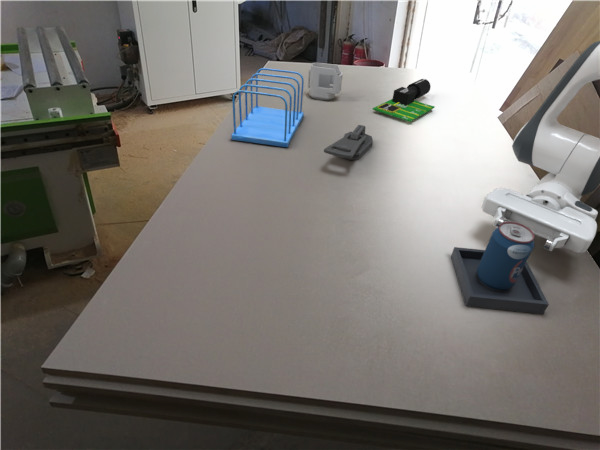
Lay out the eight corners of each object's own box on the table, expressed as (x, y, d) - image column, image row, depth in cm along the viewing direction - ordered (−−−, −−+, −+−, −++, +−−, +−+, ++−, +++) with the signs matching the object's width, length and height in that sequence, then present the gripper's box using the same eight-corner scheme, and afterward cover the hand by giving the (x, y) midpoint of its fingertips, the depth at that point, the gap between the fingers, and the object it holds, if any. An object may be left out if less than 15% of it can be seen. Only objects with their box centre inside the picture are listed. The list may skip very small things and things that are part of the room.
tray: (517, 263, 83) (522, 253, 81) (543, 314, 72) (549, 304, 70) (450, 256, 84) (454, 246, 82) (465, 306, 73) (470, 296, 71)
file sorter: (287, 148, 119) (288, 97, 110) (231, 141, 122) (227, 90, 112) (303, 117, 139) (306, 71, 130) (255, 111, 141) (254, 65, 132)
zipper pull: (320, 149, 105) (349, 116, 124) (318, 171, 109) (347, 136, 128) (353, 156, 103) (378, 122, 121) (350, 179, 107) (374, 142, 125)
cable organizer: (337, 102, 151) (341, 70, 144) (305, 98, 153) (307, 65, 146) (340, 97, 156) (344, 65, 149) (309, 92, 159) (311, 61, 151)
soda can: (512, 298, 74) (538, 248, 67) (472, 285, 76) (494, 236, 69) (513, 275, 79) (538, 226, 72) (476, 263, 81) (497, 215, 74)
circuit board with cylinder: (413, 105, 133) (374, 93, 141) (409, 125, 137) (371, 112, 145) (451, 85, 152) (415, 76, 159) (446, 103, 156) (411, 93, 164)
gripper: (501, 174, 88) (474, 198, 80) (607, 214, 77) (589, 247, 69) (492, 199, 92) (465, 224, 84) (592, 240, 81) (572, 274, 73)
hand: (522, 235), depth 76 cm, fingers open, 8 cm apart
